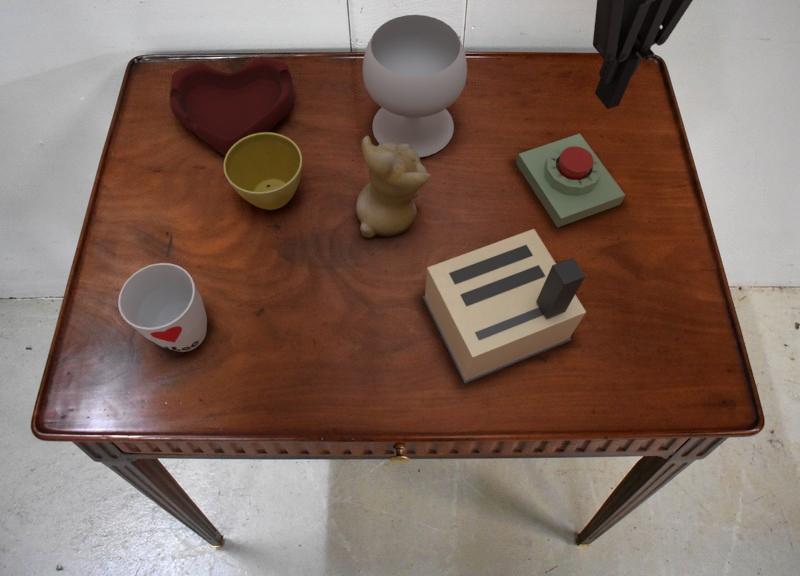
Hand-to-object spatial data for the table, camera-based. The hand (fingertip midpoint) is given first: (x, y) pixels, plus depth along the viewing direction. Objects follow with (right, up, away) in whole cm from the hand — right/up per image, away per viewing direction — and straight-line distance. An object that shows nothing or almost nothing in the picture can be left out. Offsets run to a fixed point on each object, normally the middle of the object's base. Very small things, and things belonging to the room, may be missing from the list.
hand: (606, 99), depth 67 cm
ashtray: (-48, +3, +22) cm, 53 cm away
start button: (0, -5, +13) cm, 14 cm away
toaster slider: (-7, -23, -2) cm, 25 cm away
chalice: (-21, +3, +22) cm, 31 cm away
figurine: (-24, -12, +14) cm, 31 cm away
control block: (0, -7, +17) cm, 18 cm away
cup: (-50, -27, +6) cm, 57 cm away
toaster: (-12, -25, +7) cm, 29 cm away
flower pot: (-41, -9, +16) cm, 45 cm away
